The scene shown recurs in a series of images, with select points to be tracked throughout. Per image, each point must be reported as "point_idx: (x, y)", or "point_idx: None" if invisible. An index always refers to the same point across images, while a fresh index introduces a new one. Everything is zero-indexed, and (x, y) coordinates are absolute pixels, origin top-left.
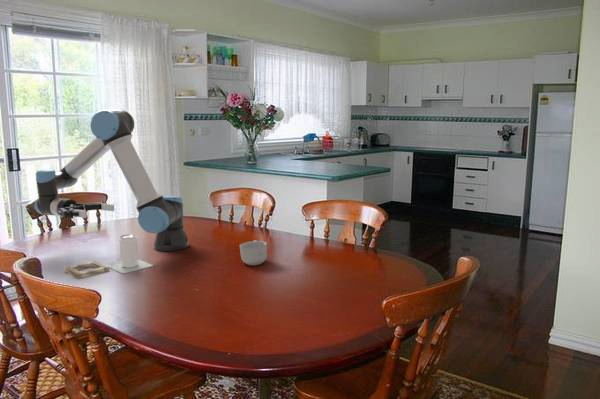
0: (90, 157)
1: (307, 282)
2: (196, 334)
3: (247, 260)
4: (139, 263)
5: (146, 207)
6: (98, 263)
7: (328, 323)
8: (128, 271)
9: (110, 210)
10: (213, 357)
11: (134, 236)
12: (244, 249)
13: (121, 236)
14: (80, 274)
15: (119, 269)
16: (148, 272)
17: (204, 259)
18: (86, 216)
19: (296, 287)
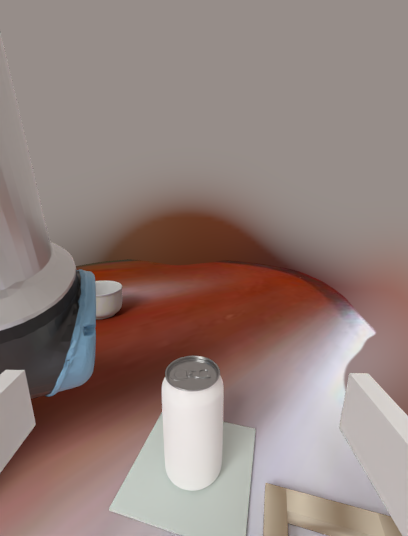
0: None
1: (159, 282)
2: (301, 289)
3: (121, 305)
4: (160, 454)
5: (88, 278)
6: None
7: (228, 268)
8: (235, 427)
9: (10, 454)
10: (311, 279)
11: (186, 356)
12: (120, 290)
13: (202, 389)
14: (390, 518)
15: (239, 463)
16: None
17: None
18: (342, 419)
19: (176, 283)
